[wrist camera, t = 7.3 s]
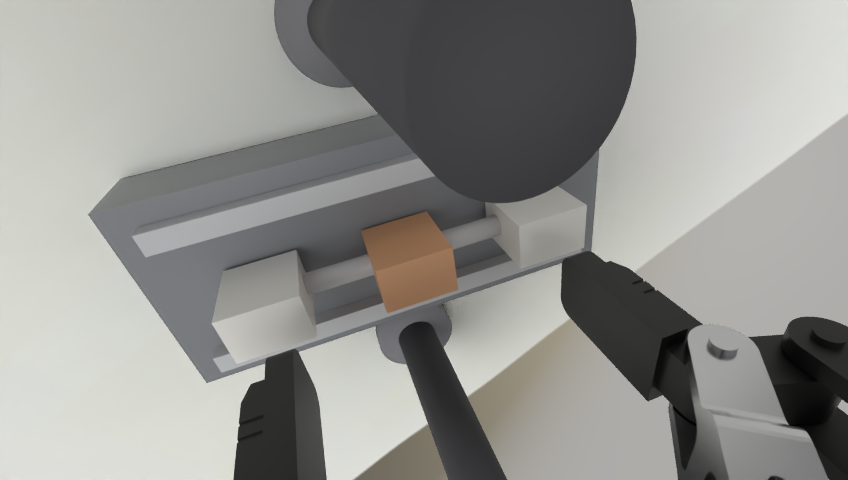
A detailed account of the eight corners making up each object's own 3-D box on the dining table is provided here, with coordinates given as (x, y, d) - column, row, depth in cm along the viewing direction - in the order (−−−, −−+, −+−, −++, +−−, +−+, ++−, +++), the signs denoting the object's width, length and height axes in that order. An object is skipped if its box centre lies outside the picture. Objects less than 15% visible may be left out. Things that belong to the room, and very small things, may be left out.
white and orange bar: (543, 176, 16) (586, 205, 14) (543, 214, 17) (584, 247, 15) (222, 271, 14) (211, 323, 12) (243, 309, 15) (236, 364, 13)
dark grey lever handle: (380, 296, 21) (500, 633, 10) (451, 292, 22) (628, 584, 11) (371, 354, 23) (464, 693, 12) (438, 347, 24) (578, 645, 13)
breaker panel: (559, 70, 18) (615, 83, 15) (556, 224, 22) (599, 259, 19) (120, 179, 15) (79, 223, 12) (216, 333, 19) (204, 394, 16)
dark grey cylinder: (275, -60, 13) (242, -515, 2) (397, -30, 14) (836, -162, 3) (274, 74, 15) (256, 302, 3) (382, 89, 16) (622, 288, 5)
